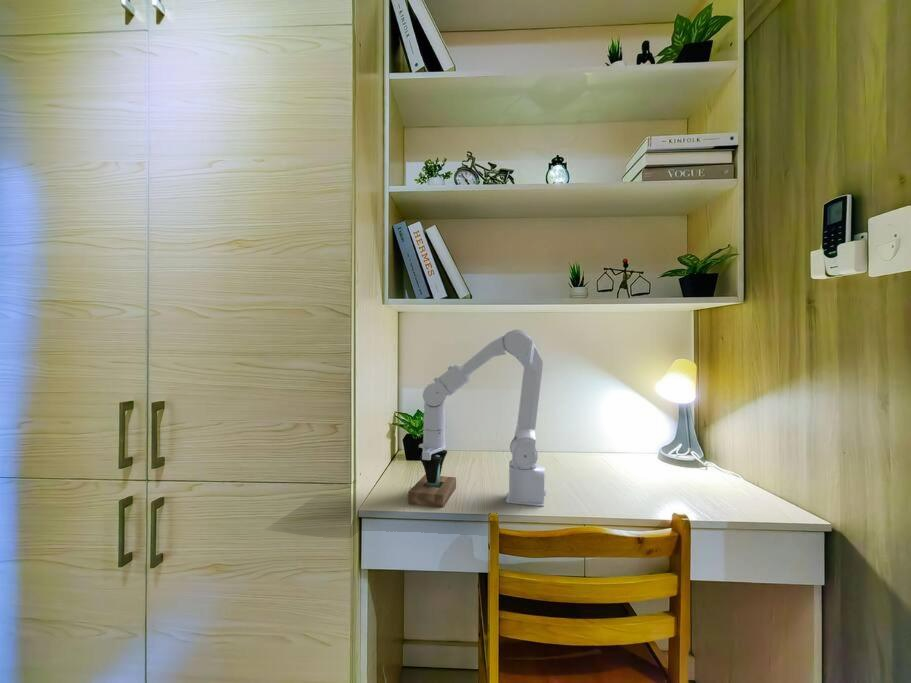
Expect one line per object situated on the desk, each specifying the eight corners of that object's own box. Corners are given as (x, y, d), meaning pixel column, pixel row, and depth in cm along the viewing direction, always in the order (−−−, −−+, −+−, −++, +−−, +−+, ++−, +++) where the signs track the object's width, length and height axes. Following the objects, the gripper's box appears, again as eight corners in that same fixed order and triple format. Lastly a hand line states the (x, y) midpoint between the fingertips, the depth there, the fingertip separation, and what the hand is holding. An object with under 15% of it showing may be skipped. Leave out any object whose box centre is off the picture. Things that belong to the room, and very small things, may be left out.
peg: (440, 489, 112) (441, 455, 112) (437, 492, 109) (438, 458, 109) (429, 487, 113) (430, 454, 113) (426, 491, 110) (427, 457, 110)
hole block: (455, 488, 117) (456, 477, 117) (443, 507, 103) (443, 495, 103) (424, 485, 119) (425, 474, 119) (408, 503, 105) (408, 491, 105)
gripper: (427, 422, 119) (427, 470, 119) (410, 433, 105) (410, 488, 105) (452, 424, 118) (451, 473, 118) (438, 435, 103) (437, 490, 103)
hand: (433, 480), depth 111 cm, fingers closed on peg, 3 cm apart
